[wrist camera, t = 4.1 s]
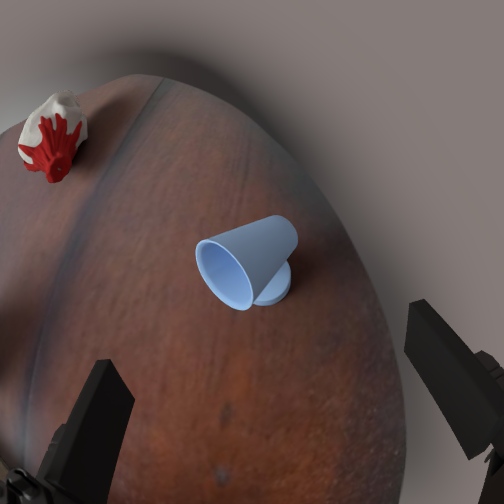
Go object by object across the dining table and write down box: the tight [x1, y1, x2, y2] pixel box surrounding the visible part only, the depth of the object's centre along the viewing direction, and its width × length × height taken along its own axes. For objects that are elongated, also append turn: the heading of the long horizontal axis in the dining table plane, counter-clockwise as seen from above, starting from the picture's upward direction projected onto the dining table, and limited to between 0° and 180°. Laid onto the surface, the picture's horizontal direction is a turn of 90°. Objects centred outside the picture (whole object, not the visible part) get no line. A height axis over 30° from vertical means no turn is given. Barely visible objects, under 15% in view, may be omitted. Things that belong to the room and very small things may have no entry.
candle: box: [18, 90, 88, 183], centre depth 32 cm, size 9×11×15 cm
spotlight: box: [196, 215, 298, 310], centre depth 21 cm, size 5×10×7 cm
